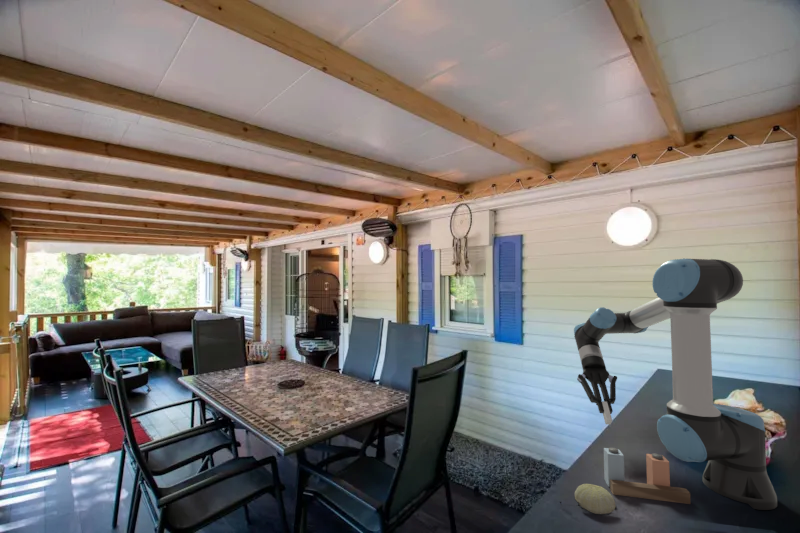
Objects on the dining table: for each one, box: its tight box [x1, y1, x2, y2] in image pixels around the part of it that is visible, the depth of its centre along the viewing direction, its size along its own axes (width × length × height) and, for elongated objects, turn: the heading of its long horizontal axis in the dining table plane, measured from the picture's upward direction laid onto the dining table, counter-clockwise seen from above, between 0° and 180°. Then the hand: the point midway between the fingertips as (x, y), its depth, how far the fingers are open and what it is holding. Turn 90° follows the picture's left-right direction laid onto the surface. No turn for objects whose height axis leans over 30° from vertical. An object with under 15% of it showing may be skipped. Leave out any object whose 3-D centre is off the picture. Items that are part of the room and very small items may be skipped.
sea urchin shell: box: [574, 483, 616, 515], centre depth 96 cm, size 9×8×8 cm
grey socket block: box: [603, 447, 626, 488], centre depth 104 cm, size 4×4×10 cm
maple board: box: [609, 479, 691, 505], centre depth 104 cm, size 16×18×4 cm
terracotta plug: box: [645, 453, 671, 487], centre depth 100 cm, size 4×4×10 cm
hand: (608, 422), depth 118 cm, fingers closed
